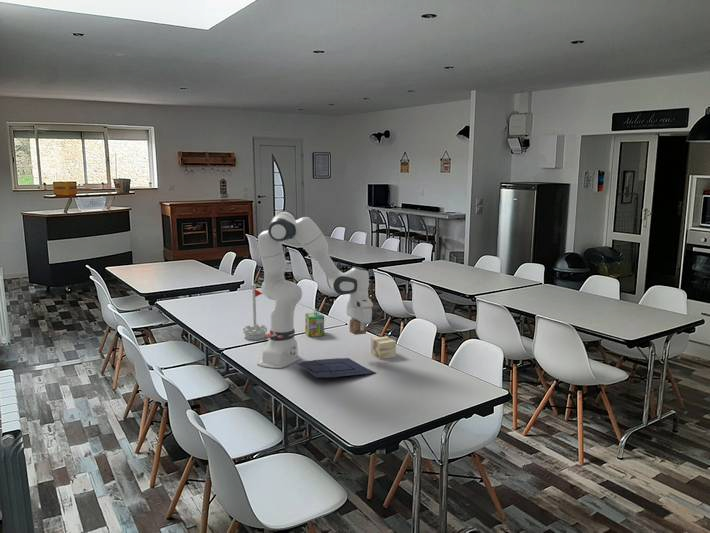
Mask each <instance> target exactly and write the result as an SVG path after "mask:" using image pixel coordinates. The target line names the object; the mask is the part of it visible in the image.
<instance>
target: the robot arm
mask: <svg viewBox="0 0 710 533" xmlns="http://www.w3.org/2000/svg"><path fill="white" fill-rule="evenodd" d="M275 214H276V215H274V216H273V217H272V219H271V221H270V222H269V224H268V226H267V227H268V229H267V230H263V231H262V232H260V233H259V234H258V236H257V246H258V252H259V255H260V260H261V263H262V268H263V275H264V277H263V278H264V279H263V282H262V284H261V286H260V288H261V293H263V295H264V296H265V297H266V298H268V299H269V300H271V301H275V307H274V310H273V311H272V312H271V313H270V330H269V332H268V333H267V334H266V337H267V338H269V339H268V340H267V343H266V344H265V347H264V348H263V350H262V353H261V355H262V357H261V358H260V359H259V360H258V362H257V365H258V366H259V367H264V368H271V369H272V368H273V369H282V368H286V367H287V366H289V365H291V364H293V363H296V362H298V361H299V360H301V359H302V357H301V356H300V355H299V346H298V342H297V340H296V338H295V335H296V331H295V328H294V327H295V326H294V323H295V322H294V316H295V315H294V314H295V309H296V306H297V304H298V303H299V302H300V301H301V299H302V297H303V291H302V290H303V289H302V287H301V286H299V285H298V284H297V283H295V282H293V281H290V280H286V278H285V270H286V269H287V266H288V264H287V260H286V257H285V253H284V252H285V251H284V249H283V243H282V242H284V241H287V240H293V239H294V238H296V239H297V240H298V242H299V243H300V244H301V246H302V247H303V249H304V250H305V252H306V253H307V254H308V255H309V256H310V257H311V258H313V259H314V260H315V261H317V264H318V265H319V266H320V268H321V269H322V271H323V272H324V275H325V277H326V281H327V286H328V287H329V288H330V289H331V290H332V291H334V292H335V293H336V294H337V295H340V296H342V295H343V296H344V295H349V298H348V301H347V304H346V315H347V316H348V317H350V320H353V319H356V320H358V321H360V324H361V325H360V326H359V330H361V331H363V330H364V326H365V324H367V325H368V324H371V322H372V318H373V306H374V304H373V301H372V300H371V299H370V298H369V291H368V290H369V287H370V277H369V276H370V275H369V272H368V270H367V269H366V268H363V267H359V266H353V267H352V268H351V269H349V270H348V271H345V272H343V271H341V270H340V269H339V268H338V267H337V266H336V264H335V263H334V261H333V260H332V258H331V257H330V255H329V242H328V241H327V238H326V237H325V235H324V234H323V232H322V231H321V229H320V227H319V226H318V225H317V224H316V223H315V221H314V220H312V219H311V217H308V216H302V217H300V218H298V219H297V217H296V215H295V214H294V213H293V212H292V211H291V210H290V211H289V210H286V209H285V210H280V211H279V212H277V213H275Z"/></svg>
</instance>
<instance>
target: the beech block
mask: <svg viewBox="0 0 710 533" xmlns="http://www.w3.org/2000/svg"><path fill="white" fill-rule="evenodd" d="M370 344H371V345H370V354H371V355H372V356H374V357H376V358H377V359H379V360H384V359H389V358H394V357H395V358H396V356H397V345H396V344H397V341H396V340H394V339H392V338H391V337H389V336H387V335H386V336H380V337H373V338H370Z"/></svg>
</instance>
